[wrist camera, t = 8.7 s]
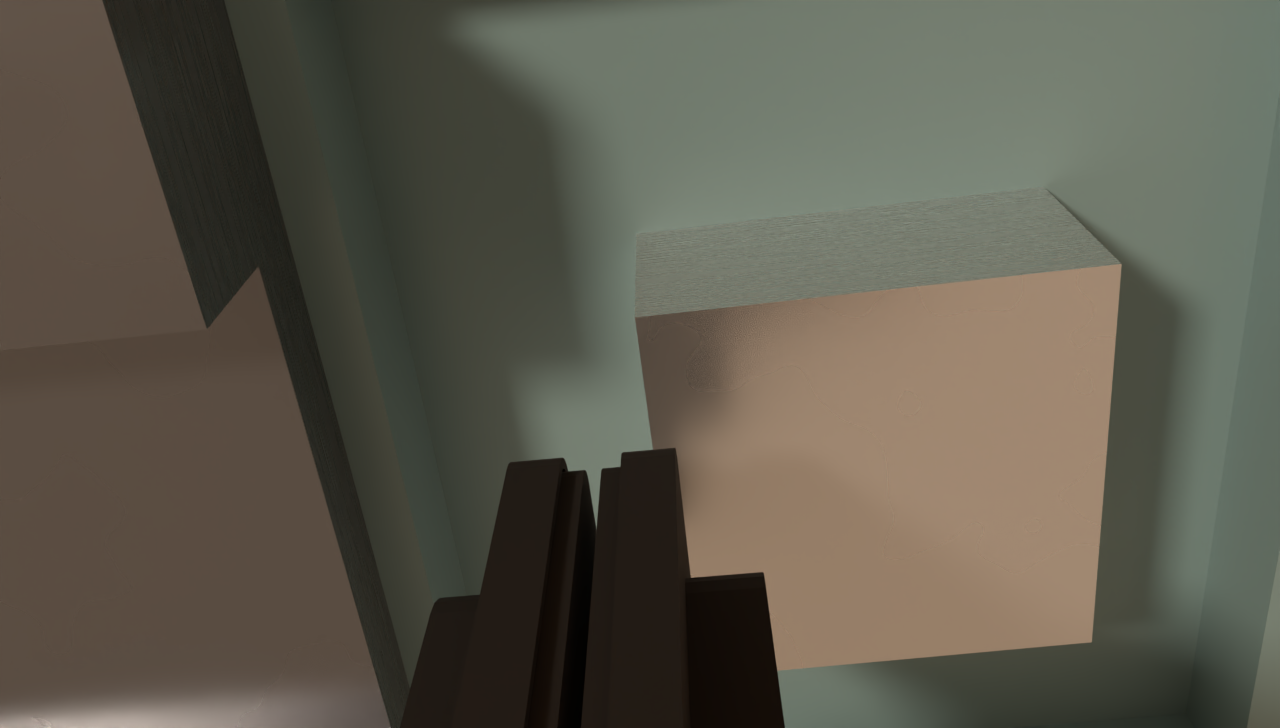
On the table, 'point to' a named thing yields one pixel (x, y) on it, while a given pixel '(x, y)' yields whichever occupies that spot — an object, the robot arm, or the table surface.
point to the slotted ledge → (165, 400)
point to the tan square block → (890, 418)
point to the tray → (776, 187)
